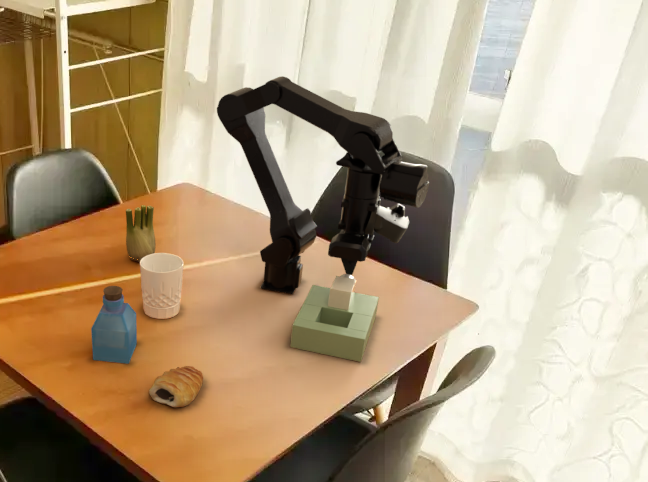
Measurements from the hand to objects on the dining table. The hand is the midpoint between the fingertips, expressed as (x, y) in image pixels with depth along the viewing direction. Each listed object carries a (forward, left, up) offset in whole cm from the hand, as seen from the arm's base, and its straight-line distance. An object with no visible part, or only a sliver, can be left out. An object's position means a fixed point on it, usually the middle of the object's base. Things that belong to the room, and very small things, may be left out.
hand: (349, 273), depth 137 cm
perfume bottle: (-33, -31, -7) cm, 46 cm away
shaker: (0, -6, -2) cm, 6 cm away
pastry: (-19, -38, -7) cm, 43 cm away
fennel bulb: (-43, +3, -7) cm, 44 cm away
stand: (0, -10, -7) cm, 12 cm away
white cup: (-31, -15, -7) cm, 35 cm away
